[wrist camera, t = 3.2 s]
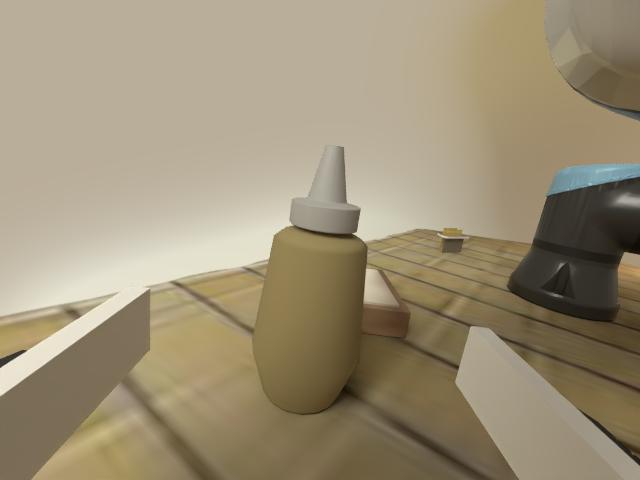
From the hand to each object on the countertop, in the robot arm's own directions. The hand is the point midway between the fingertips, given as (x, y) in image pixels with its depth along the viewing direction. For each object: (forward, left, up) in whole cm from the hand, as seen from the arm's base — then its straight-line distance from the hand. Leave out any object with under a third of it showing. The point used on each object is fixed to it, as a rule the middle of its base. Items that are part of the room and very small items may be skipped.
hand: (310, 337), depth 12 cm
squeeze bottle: (0, -9, -10) cm, 13 cm away
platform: (-38, -66, -10) cm, 77 cm away
